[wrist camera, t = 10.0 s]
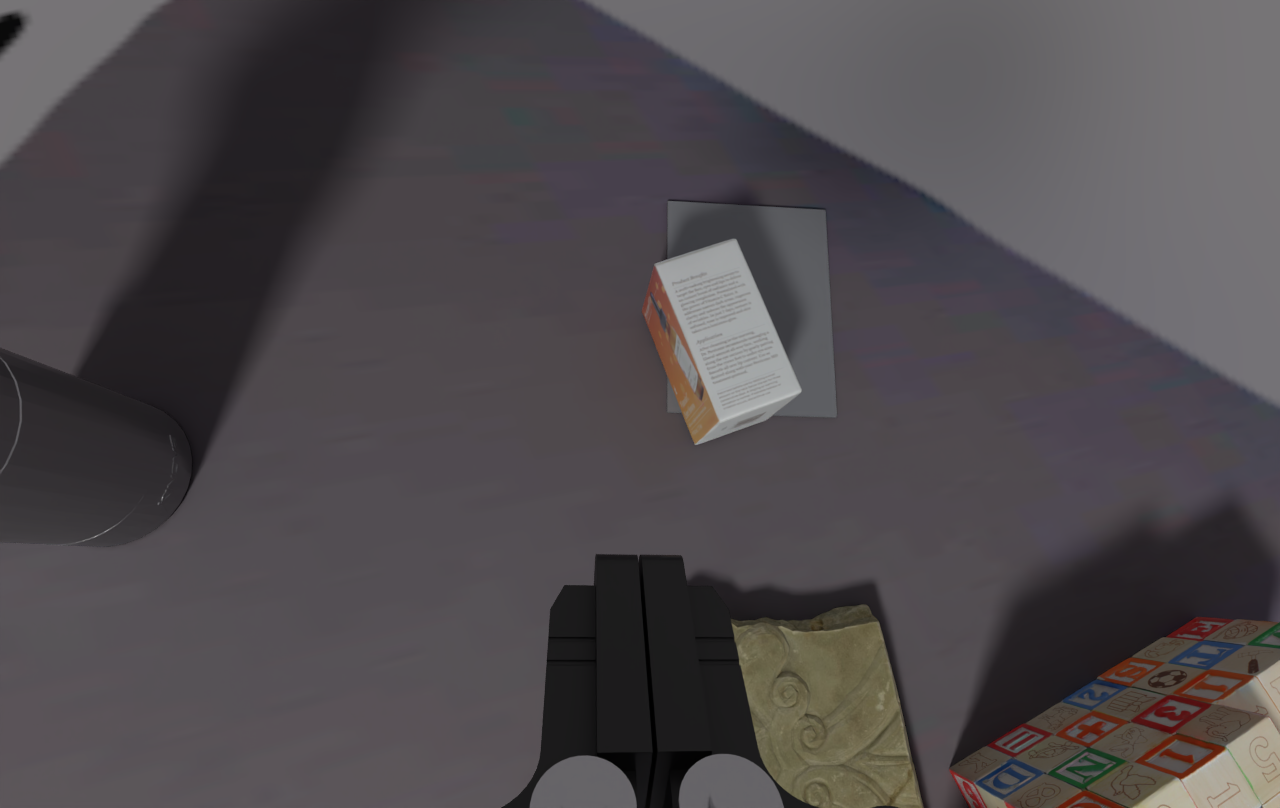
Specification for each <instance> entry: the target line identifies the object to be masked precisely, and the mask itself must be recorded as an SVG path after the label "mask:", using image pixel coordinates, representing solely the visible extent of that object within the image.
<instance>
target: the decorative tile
mask: <svg viewBox="0 0 1280 808" xmlns="http://www.w3.org/2000/svg"><path fill="white" fill-rule="evenodd" d="M731 623H732V627H733V632H734V637H735V638H734V641H735V642H736V646H737V651H738V655H739V665H741V670H742V674H743V679H744V684H745V688H746V693H747V698H748V702H749V707H750V712H751V717H752V721H753V726H754V731H755V735H756V740H757V745H758V749H759V752H760V756H761V758H762V761H763V763H764V765H765V767H766V768H767V770H768V772H769V773H770V775H771V776H772V777H773V778H774V780H775V781H776V782H777V783H778V784H779V785H780V786H781V787H782V788H783V789H784V790H786V791H787V792H788V793H790V794H791V795H792V796H794V797H796V798H797V799H799V800H801V801H803V802H805V803H808V804H810V805H813V806H816V807H819V808H872V807H875V806H885V805H886V806H895V807H898V808H924V807H923V803H922V799H921V795H920V790H919V785H918V781H917V776H916V772H915V768H914V763H913V761H912V757H911V752H910V747H909V742H908V736H907V732H906V727H905V723H904V718H903V714H902V709H901V705H900V700H899V696H898V692H897V688H896V684H895V679H894V675H893V671H892V668H891V664H890V660H889V656H888V652H887V649H886V646H885V642H884V638H883V634H882V630H881V627H880V623H879V621H878V620H877V619H876V618H875V617H874V616H872V613H871V611H870V608H869V607H868V606H867V605H864V604H862V605H857V606H845V607H838V608H834V609H832V610H830V611H828V612H825V613H823V614H820V615H818V616H816V617H815V618H813V619H810V620H805V619H804V620H802V621H797V620H790V621H785V620H774V619H770V618H768V617H765V618H760V619H757V620H745V621H737V620H734V619H731Z"/></svg>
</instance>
